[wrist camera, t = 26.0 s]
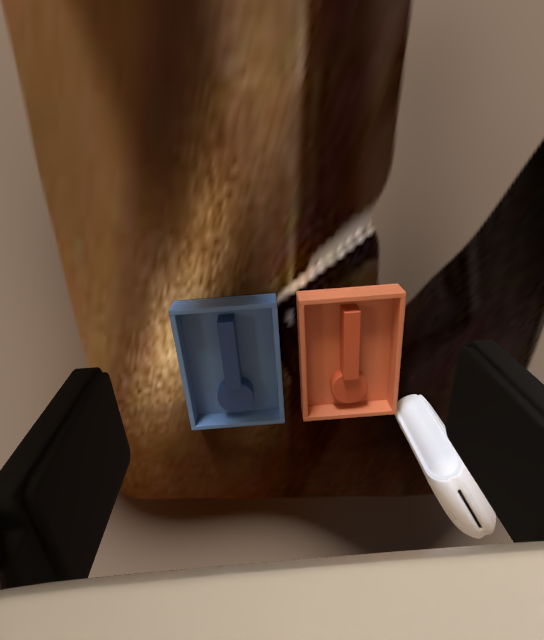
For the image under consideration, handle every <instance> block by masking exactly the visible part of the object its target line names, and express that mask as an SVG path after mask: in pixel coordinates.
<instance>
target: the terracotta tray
mask: <svg viewBox="0 0 544 640" xmlns="http://www.w3.org/2000/svg"><path fill="white" fill-rule="evenodd" d="M296 301H297V323H298V346H299V369H300V391H301V409H302V415H303V420H304V421H315V420H328V419H340V418H353V417H365V416H378V415H390V414H396V412H397V399H398V387H399V375H400V363H401V351H402V339H403V327H404V315H405V303H406V292H405V291H404V290H403V289H402V288H401V287H400V286H399V285H398V284H386V285H373V286H360V287H347V288H334V289H321V290H308V291H296ZM347 304H356V305H357V306H358V308H359V309H360V311H361V328H360V361H359V370H360V371H361V372H362V373H363V375H364V377H365V379H366V381H367V385H368V388H367V392H366V394H365V395H364V397H363V398H362V399H360V400H359V401H357V402H354V403H342V402H340V401H338V400H336V399H335V398H334V396H333V394H332V391H331V388H330V379H331V377H332V375H333V374H334V373H335V372H336V371H337V370H339V369H340V305H347Z"/></svg>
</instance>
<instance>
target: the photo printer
mask: <svg viewBox="0 0 544 640" xmlns="http://www.w3.org/2000/svg"><path fill="white" fill-rule="evenodd" d="M395 416H396V419H397V421H398V423H399V425H400V428H401V430H402V431H403V433H404V435H405V437H406V439H407V441H408V443H409V444H410V446H411V448H412V450H413V452H414V454H415V456H416V458H417V460H418V462H419V464H420V466H421V468H422V470H423V473H424V475H425V477H426V479H427V481H428V483H429V485H430V486H431V488H432V490H433V492H434V494H435V495H436V497H437V499H438V501H439V503H440V504H441V506H442V507H443V509H444V510H445V512H446V514H447V515H448V517H449V518H450V519H451V521H452V522H453V523H454V524H455V526H457V527H458V528H459V529H460V530H461V531H462V532H464V533H465V534H467V535H469V536H471V537H474V538H482V537H483V536H484V535H487V534H491V533H492V532H493V531H494V529H495V525H496V514H495V512H494V510H493V509H492V507H491V506H490V504H489V502H488V501H487V499H486V498H485V496H484V494H483V493H482V491H481V490H480V488H479V487H478V485H477V483H476V482H475V480H474V479H473V477H472V476H471V474H470V472H469V471H468V469H467V468H466V466H465V465H464V463H463V461H462V460H461V458H460V457H459V455H458V453H457V452H456V450H455V449H454V447H453V446H452V444H451V442H450V441H449V439H448V437H447V434H446V428H445V425H444V424H443V422H442V421H441V419H440V418H439V416H438V415H437V413H436V412H435V411H434V409H433V408H432V406H431V405H430V404H429V402H428V401H427V400H426V399H425V398H424V397H423V396H422V395H416V394H412V395H408V396H405V397H403V398H402V399H400V400H399V401H398V402H397V412H396V414H395Z"/></svg>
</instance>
